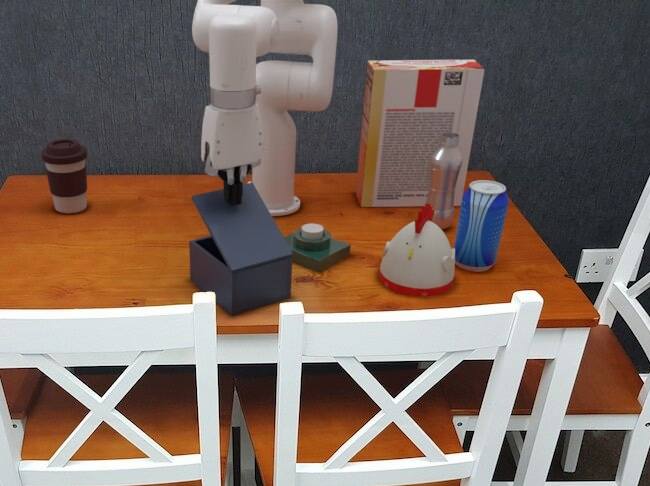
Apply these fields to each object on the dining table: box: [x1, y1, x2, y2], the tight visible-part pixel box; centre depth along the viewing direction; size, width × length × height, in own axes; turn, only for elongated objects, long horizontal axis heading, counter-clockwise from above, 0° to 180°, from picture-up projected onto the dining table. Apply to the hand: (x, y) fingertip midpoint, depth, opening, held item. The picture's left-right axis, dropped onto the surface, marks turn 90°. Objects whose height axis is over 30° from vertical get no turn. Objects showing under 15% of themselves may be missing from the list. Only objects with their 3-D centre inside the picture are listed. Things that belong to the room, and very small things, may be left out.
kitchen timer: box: [378, 203, 456, 298], centre depth 146 cm, size 14×14×15 cm
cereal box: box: [355, 59, 485, 208], centre depth 174 cm, size 23×8×30 cm, turn 91°
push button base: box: [283, 227, 351, 273], centre depth 158 cm, size 12×10×4 cm
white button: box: [301, 222, 325, 240], centre depth 156 cm, size 4×4×2 cm
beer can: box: [453, 179, 510, 273], centre depth 151 cm, size 8×8×16 cm
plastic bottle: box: [426, 132, 462, 230], centre depth 164 cm, size 6×7×20 cm
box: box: [188, 235, 293, 317], centre depth 145 cm, size 16×13×8 cm
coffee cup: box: [40, 138, 88, 215], centre depth 175 cm, size 10×10×15 cm
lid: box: [191, 181, 293, 273], centre depth 139 cm, size 16×13×1 cm
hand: (233, 202), depth 140 cm, fingers closed
